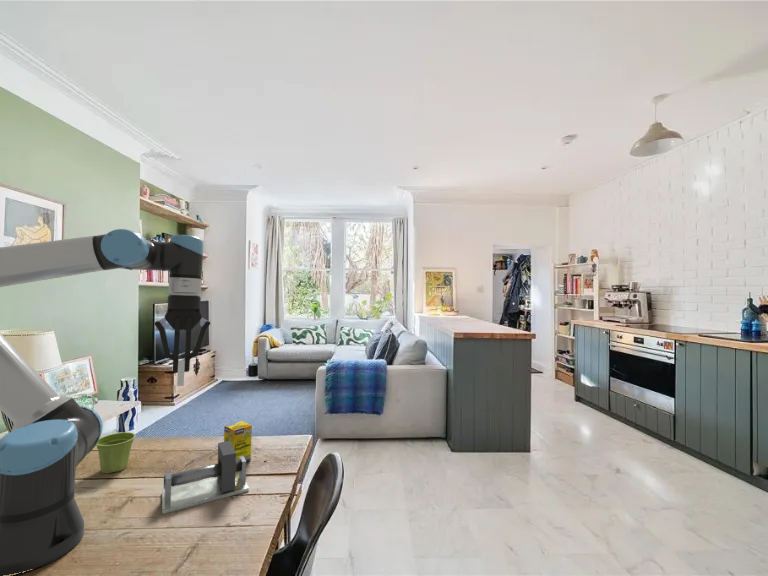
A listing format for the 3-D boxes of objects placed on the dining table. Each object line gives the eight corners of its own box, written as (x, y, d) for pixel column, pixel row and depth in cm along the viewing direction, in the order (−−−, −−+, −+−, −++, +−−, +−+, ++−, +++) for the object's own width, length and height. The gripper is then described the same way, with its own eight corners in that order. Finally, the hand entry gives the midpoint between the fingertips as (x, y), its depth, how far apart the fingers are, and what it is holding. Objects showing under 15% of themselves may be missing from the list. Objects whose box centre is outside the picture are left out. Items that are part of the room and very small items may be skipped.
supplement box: (233, 467, 103) (234, 430, 103) (222, 461, 107) (223, 425, 107) (251, 460, 108) (252, 424, 108) (240, 455, 111) (241, 420, 112)
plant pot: (142, 462, 106) (143, 433, 106) (115, 478, 96) (116, 446, 97) (113, 460, 107) (114, 431, 107) (84, 475, 97) (85, 444, 98)
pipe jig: (162, 514, 81) (163, 484, 81) (162, 493, 89) (162, 466, 89) (248, 491, 91) (249, 464, 91) (241, 474, 99) (241, 450, 100)
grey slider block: (222, 492, 88) (223, 455, 88) (217, 476, 96) (218, 442, 96) (234, 489, 90) (235, 453, 90) (229, 474, 97) (230, 440, 98)
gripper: (154, 293, 86) (149, 390, 85) (213, 295, 92) (209, 385, 92) (156, 293, 92) (151, 383, 92) (211, 295, 99) (207, 379, 98)
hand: (180, 384), depth 92 cm, fingers closed
